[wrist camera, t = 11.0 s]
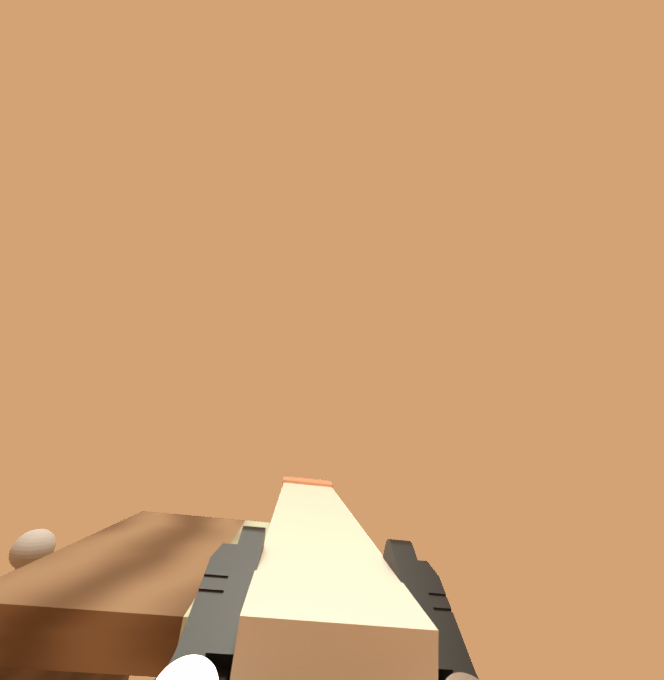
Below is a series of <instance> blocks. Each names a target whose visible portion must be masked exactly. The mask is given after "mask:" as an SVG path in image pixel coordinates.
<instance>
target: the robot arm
mask: <svg viewBox="0 0 664 680" xmlns="http://www.w3.org/2000/svg"><path fill="white" fill-rule="evenodd" d="M265 533H266V528H264V527H253V526H243V528H242V531H241V534H240V538H239V541H238V544H228V543H222V545H221V546H220V547H219V548H218V549H217V550H216V551H215V553H214V554H213V555H212V556H211V557H210V560H209V563H208V565H207V568H206V571H205V573H204V577H203V579H202V581H201V584H200V587H199V591H198V592H197V595H196V597H195V600H194V603H193V605H192V608H191V611H190V613H189V616H188V619H187V621H186V624H185V627H184V629H183V632H182V635H181V637H180V640H179V643H178V645H177V648H176V651H175V653H174V655H173V657H172V659H171V661H170V662H169V664H168V665H167V666H166V668H165V669H164V670H163V671H162V672H161V673H160V674H159V676H157V677H156V678H155V679H154V680H230V675H231V669H232V662H233V656H234V650H235V643H236V637H237V630H238V624H239V618H240V614H241V611H242V608H243V605H244V601H245V598H246V595H247V592H248V589H249V586H250V583H251V580H252V577H253V574H254V571H255V570H257V567H258V564H259V561H260V558H261V555H262V552H263V548H264V542H265ZM383 558H384V560H385V561H386V563H387V564H388V565H389V567H390V568H391V569H392V571H393V572H394V573H395V575H396V576H397V578H398V579H399V580H400V582H402V583H403V584H404V585H405V586H406V588H407V589H408V590H409V592H410V593H411V594H412V596H413V597H414V598H415V600H416V601H417V602H418V604H419V605H420V606H421V608H422V609H423V610H424V612H425V613H426V614H427V616H428V617H429V618H430V620H431V621H432V622H433V624H434V625H435V626H436V628H437V629H438V630H439V639H438V680H479V679H478V677H477V675H476V673H475V670H474V667H473V665H472V662H471V659H470V657H469V654H468V652H467V649H466V646H465V644H464V641H463V638H462V636H461V633H460V631H459V628H458V625H457V623H456V620H455V618H454V615H453V613H452V612H451V607H450V604H449V602H448V599H447V598H446V594H445V591H444V589H443V586H442V583H441V581H440V578H439V576H438V575H437V574H436V572H435V571H434V570H433V568H432V567H431V566H430V564H429V563H428V562H427V561H418V560H417V557H416V554H415V551H414V548H413V545H412V543H411V542H410V541H403V540H392V539H388V540H387V542H386V545H385V550H384V554H383Z"/></svg>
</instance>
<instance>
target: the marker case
mask: <svg viewBox="0 0 664 680" xmlns="http://www.w3.org/2000/svg"><path fill="white" fill-rule="evenodd" d="M438 639H439V630H438V629H437V628H436V626H435V625H434V624H433V622H432V621H431V620H430V618H429V617H428V616H427V614H426V613H425V612H424V610H423V609H422V608H421V606H420V605H419V604H418V602H417V601H416V600H415V598H414V597H413V596H412V594H411V593H410V592H409V590H408V589H407V588H406V586H405V585H404V584H403V583H402V582H400V580H399V579H398V578H397V576H396V575H395V573H394V572H393V571H392V569H391V568H390V567H389V565H388V564H387V563H386V561H385V560H384V558H383V555H382V554H381V553H380V551H379V550H378V549H377V548H376V546H375V545H374V544H373V542H372V541H371V539H370V538H369V537H368V536H367V534H366V533H365V531H364V530H363V529H362V527H361V526H360V525H359V523H358V522H357V521H356V519H355V518H354V517H353V515H352V514H351V512H350V511H349V510H348V509H347V507H346V506H345V504H344V503H343V502H342V500H341V499H340V498H339V496H338V495H337V494H336V492H335V491H334V490H333V484H332V483H331V482H330V481H326V480H317V479H306V478H297V477H288V476H285V477H284V479H283V485H282V490H281V493H280V496H279V499H278V502H277V505H276V508H275V511H274V514H273V517H272V520H271V523H270V526H269V529H268V532H267V535H266V538H265V542H264V548H263V552H262V555H261V558H260V561H259V564H258V567H257V570H255V571H254V574H253V577H252V580H251V583H250V586H249V589H248V592H247V595H246V598H245V601H244V605H243V608H242V611H241V614H240V618H239V624H238V630H237V637H236V643H235V650H234V656H233V662H232V669H231V675H230V680H438Z"/></svg>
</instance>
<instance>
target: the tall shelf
mask: <svg viewBox="0 0 664 680" xmlns="http://www.w3.org/2000/svg"><path fill="white" fill-rule="evenodd" d="M243 526H253V527H264V528H266V533H265V538H266V535H267V532H268V529H269V526H270V523H267V522H256V521H245V520H234V519H223V518H212V517H201V516H190V515H179V514H167V513H156V512H145V511H142V512H140V513H138V514H136V515H134V516H131V517H129V518H127V519H125V520H123V521H121V522H119V523H116V524H114V525H112V526H110V527H108V528H105V529H104V530H101V531H99V532H97V533H95V534H92V535H90V536H88V537H86V538H84V539H81V540H79V541H77V542H75V543H73V544H71V545H68V546H66V547H64V548H62V549H60V550H58V551H55V552H53V553H51V554H49V555H47V556H45V557H42V558H40V559H38V560H36V561H34V562H32V563H29V564H27V565H25V566H23V567H21V568H19V569H16V570H14V571H12V572H10V573H8V574H6V575H3V576H1V577H0V680H128V678H129V675H134V676H150V677H157V676H159V674H160V673H161V672H162V671H163V670H164V669H165V668H166V666H167V665H168V664H169V662H170V661H171V659H172V657H173V655H174V653H175V651H176V648H177V645H178V643H179V640H180V637H181V635H182V632H183V629H184V627H185V624H186V621H187V619H188V616H189V613H190V611H191V608H192V605H193V603H194V600H195V597H196V595H197V592H198V591H199V587H200V584H201V581H202V579H203V577H204V573H205V571H206V568H207V565H208V563H209V560H210V557H211V556H212V555H213V554H214V553H215V551H216V550H217V549H218V548H219V547H220V546H221V545H222V543H228V544H238V541H239V538H240V534H241V531H242V528H243Z"/></svg>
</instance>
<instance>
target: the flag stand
mask: <svg viewBox="0 0 664 680" xmlns="http://www.w3.org/2000/svg"><path fill="white" fill-rule="evenodd" d="M55 546H56V539H55V536H54V534H53V533H52V532H51V531H49V530H46V529H36V530H31V531H29V532H27V533H25V534H23V535H22V536H21V537H19V538H18V539H17V541H15V543H14V544H13V545H12V547H11V549H10V553H9V561H10V564H11V565H12V566H13V567H14V568H15V570H16V569H19V568H21V567H23V566H25V565H27V564H29V563H32V562H34V561H36V560H38V559H40V558H42V557H45V556H47V555H49V554H51V553H53V551H54V549H55Z"/></svg>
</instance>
